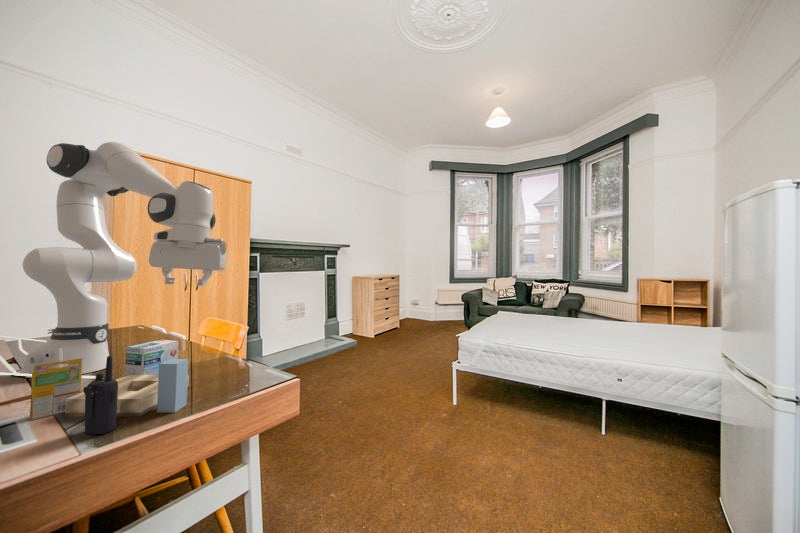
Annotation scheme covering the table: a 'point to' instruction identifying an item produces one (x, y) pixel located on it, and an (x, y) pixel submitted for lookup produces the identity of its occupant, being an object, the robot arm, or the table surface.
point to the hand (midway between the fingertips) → (185, 284)
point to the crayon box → (54, 387)
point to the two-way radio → (101, 402)
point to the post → (172, 385)
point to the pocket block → (124, 397)
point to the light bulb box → (149, 357)
